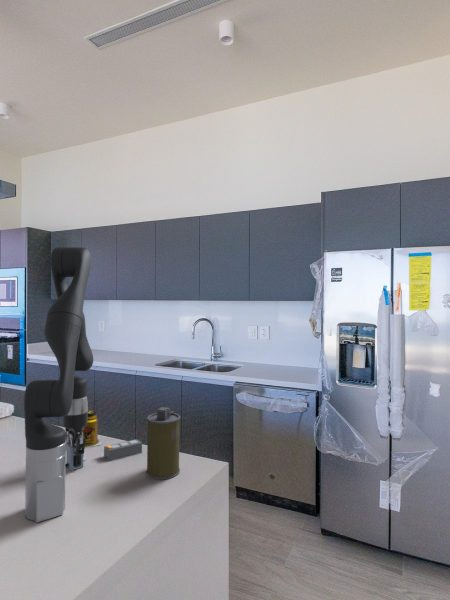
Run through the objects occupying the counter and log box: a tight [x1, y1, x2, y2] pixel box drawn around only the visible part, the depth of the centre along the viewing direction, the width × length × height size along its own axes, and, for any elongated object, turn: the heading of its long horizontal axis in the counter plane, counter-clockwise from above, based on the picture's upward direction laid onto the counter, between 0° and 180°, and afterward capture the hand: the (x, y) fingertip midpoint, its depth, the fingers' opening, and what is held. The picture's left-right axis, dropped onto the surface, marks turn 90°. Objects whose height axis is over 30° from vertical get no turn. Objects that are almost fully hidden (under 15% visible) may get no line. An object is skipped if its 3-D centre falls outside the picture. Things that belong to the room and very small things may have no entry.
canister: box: [145, 406, 181, 480], centre depth 120 cm, size 11×10×20 cm
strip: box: [103, 439, 143, 462], centre depth 133 cm, size 4×12×4 cm, turn 128°
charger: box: [65, 443, 87, 471], centre depth 122 cm, size 4×10×7 cm, turn 128°
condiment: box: [82, 409, 102, 448], centre depth 144 cm, size 7×8×12 cm
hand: (74, 463), depth 123 cm, fingers closed on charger, 4 cm apart
